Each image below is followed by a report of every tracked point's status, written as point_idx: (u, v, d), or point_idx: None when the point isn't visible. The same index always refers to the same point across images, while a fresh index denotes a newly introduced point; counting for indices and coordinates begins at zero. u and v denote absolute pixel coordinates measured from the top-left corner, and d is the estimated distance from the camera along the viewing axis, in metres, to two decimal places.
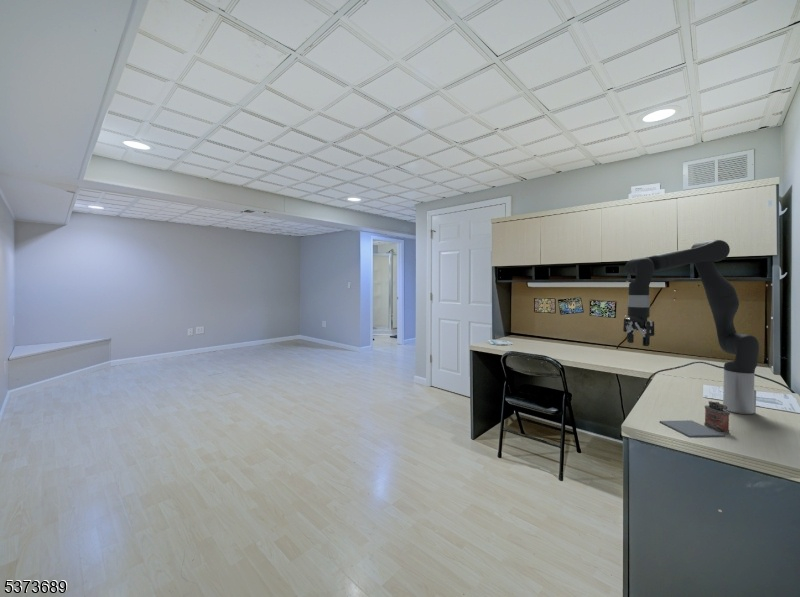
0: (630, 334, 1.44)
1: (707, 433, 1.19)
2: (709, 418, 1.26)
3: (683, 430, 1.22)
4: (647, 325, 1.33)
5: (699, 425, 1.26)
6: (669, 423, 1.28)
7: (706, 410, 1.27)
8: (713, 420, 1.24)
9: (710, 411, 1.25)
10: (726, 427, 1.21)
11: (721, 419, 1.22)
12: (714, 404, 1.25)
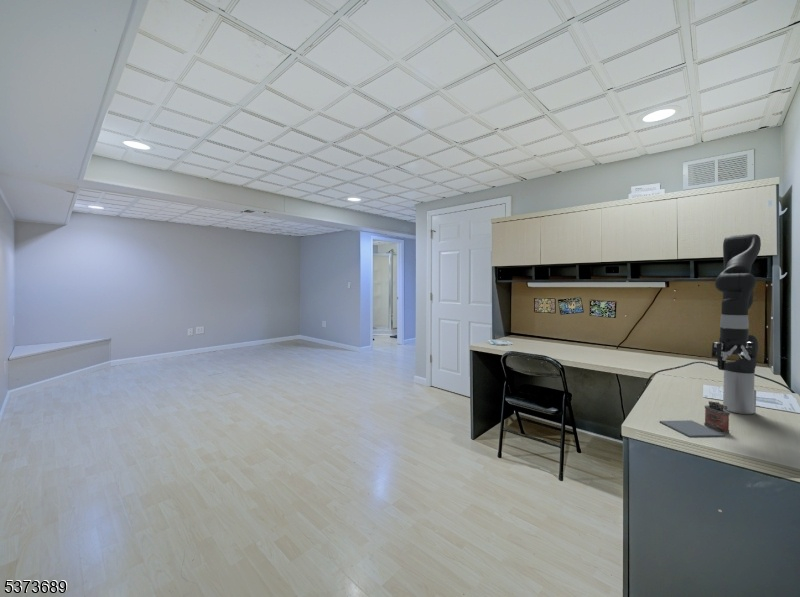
0: None
1: (707, 433, 1.19)
2: (709, 418, 1.26)
3: (683, 430, 1.22)
4: (753, 347, 1.23)
5: (699, 425, 1.26)
6: (669, 423, 1.28)
7: (706, 410, 1.27)
8: (713, 420, 1.24)
9: (710, 411, 1.25)
10: (726, 427, 1.21)
11: (721, 419, 1.22)
12: (714, 404, 1.25)
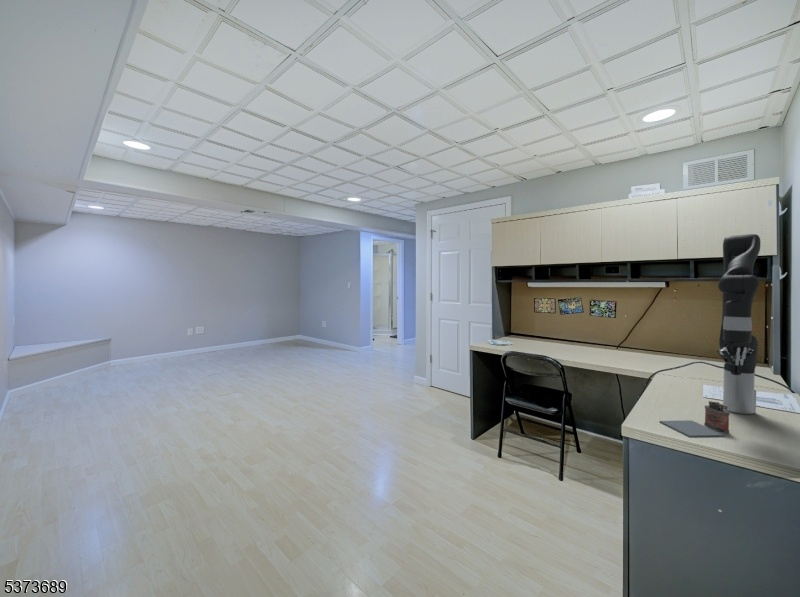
0: None
1: (707, 433, 1.19)
2: (709, 418, 1.26)
3: (683, 430, 1.22)
4: (752, 354, 1.23)
5: (699, 425, 1.26)
6: (669, 423, 1.28)
7: (706, 410, 1.27)
8: (713, 420, 1.24)
9: (710, 411, 1.25)
10: (726, 427, 1.21)
11: (721, 419, 1.22)
12: (714, 404, 1.25)
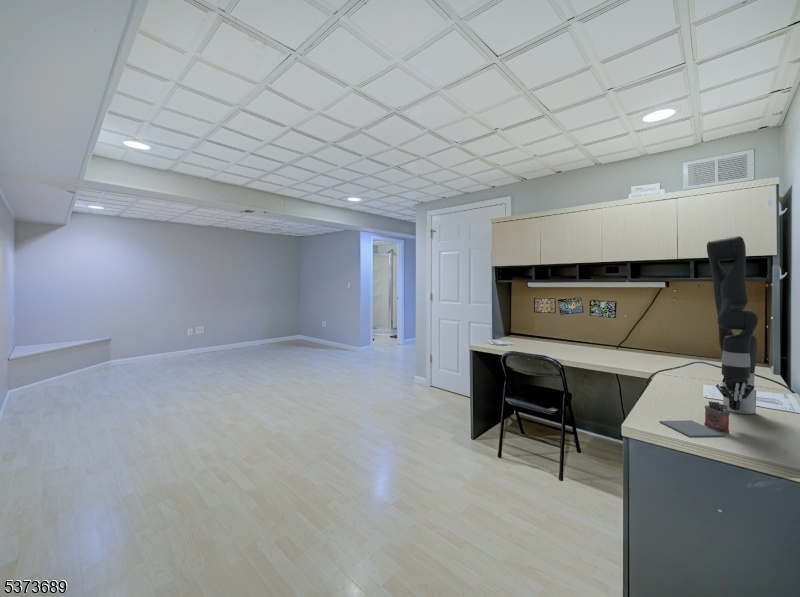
0: None
1: (707, 433, 1.19)
2: (709, 418, 1.26)
3: (683, 430, 1.22)
4: (751, 389, 1.23)
5: (699, 425, 1.26)
6: (669, 423, 1.28)
7: (706, 410, 1.27)
8: (713, 420, 1.24)
9: (710, 411, 1.25)
10: (726, 427, 1.21)
11: (721, 419, 1.22)
12: (714, 404, 1.25)
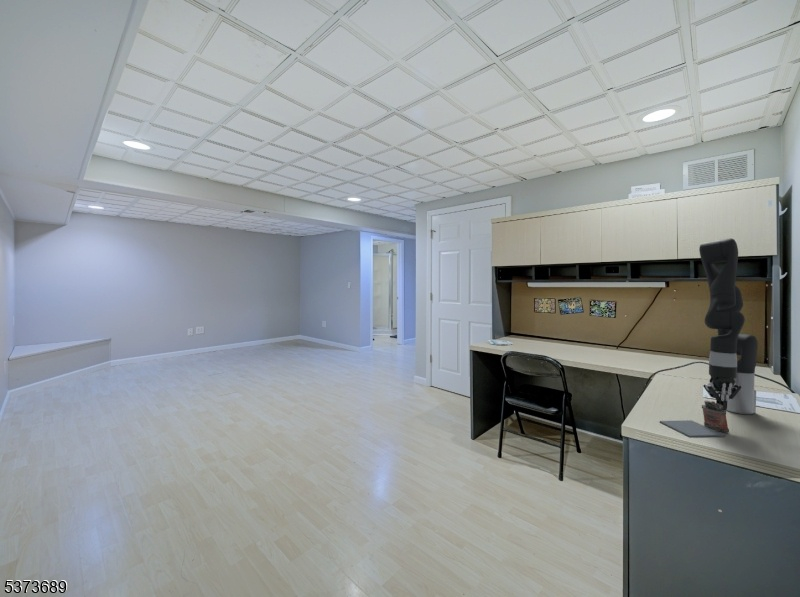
0: None
1: (707, 433, 1.19)
2: (707, 418, 1.26)
3: (683, 430, 1.22)
4: (738, 389, 1.23)
5: (699, 425, 1.26)
6: (669, 423, 1.28)
7: (703, 410, 1.27)
8: (711, 420, 1.24)
9: (707, 411, 1.25)
10: (725, 426, 1.21)
11: (719, 419, 1.22)
12: (709, 404, 1.25)
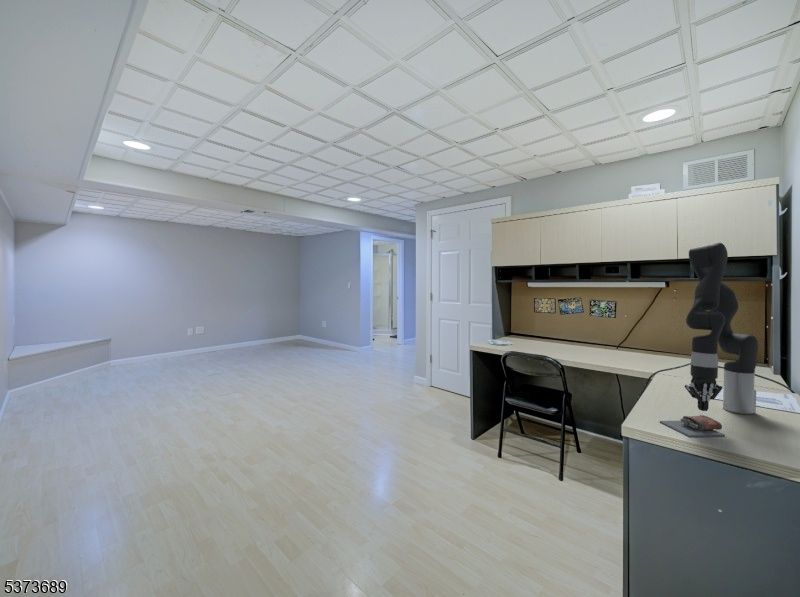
0: None
1: (707, 433, 1.19)
2: None
3: (683, 430, 1.22)
4: (719, 390, 1.23)
5: None
6: (669, 423, 1.28)
7: None
8: None
9: None
10: (716, 428, 1.21)
11: None
12: None
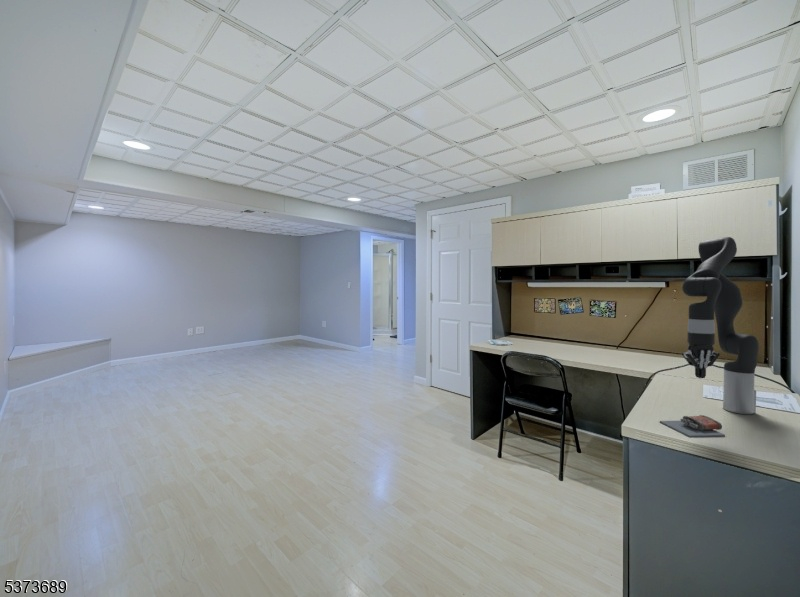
0: None
1: (707, 433, 1.19)
2: None
3: (683, 430, 1.22)
4: (716, 357, 1.22)
5: None
6: (669, 423, 1.28)
7: None
8: None
9: None
10: (716, 428, 1.21)
11: None
12: None
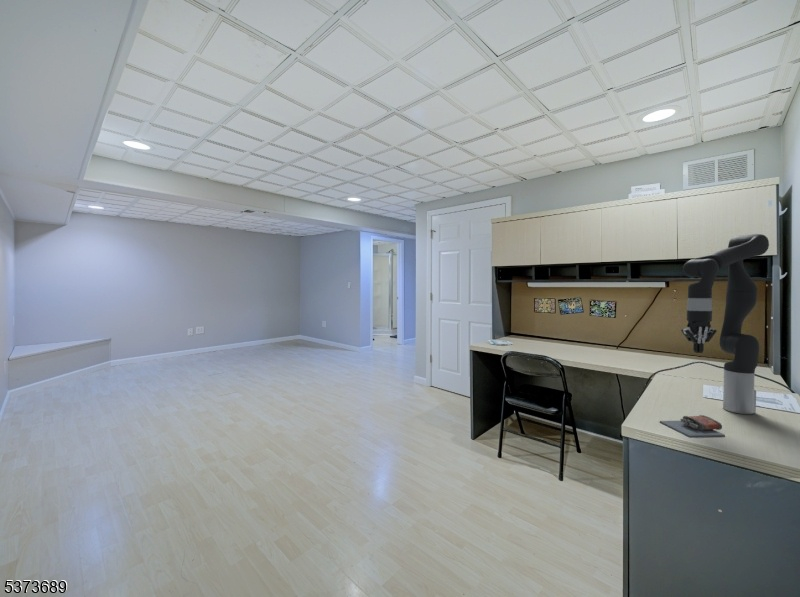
0: None
1: (707, 433, 1.19)
2: None
3: (683, 430, 1.22)
4: (713, 333, 1.32)
5: None
6: (669, 423, 1.28)
7: None
8: None
9: None
10: (716, 428, 1.21)
11: None
12: None
